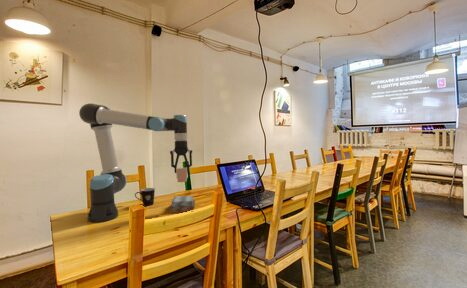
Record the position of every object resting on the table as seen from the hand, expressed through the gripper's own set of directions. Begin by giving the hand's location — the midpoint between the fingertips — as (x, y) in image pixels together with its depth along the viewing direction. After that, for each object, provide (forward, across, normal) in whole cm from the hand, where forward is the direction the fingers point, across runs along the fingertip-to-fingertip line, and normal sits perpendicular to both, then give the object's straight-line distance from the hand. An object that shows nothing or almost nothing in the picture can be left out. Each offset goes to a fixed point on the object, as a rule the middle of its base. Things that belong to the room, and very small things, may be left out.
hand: (182, 178), depth 150 cm
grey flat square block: (+19, 0, 0) cm, 19 cm away
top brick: (+2, 0, 0) cm, 2 cm away
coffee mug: (+19, -25, +12) cm, 34 cm away
